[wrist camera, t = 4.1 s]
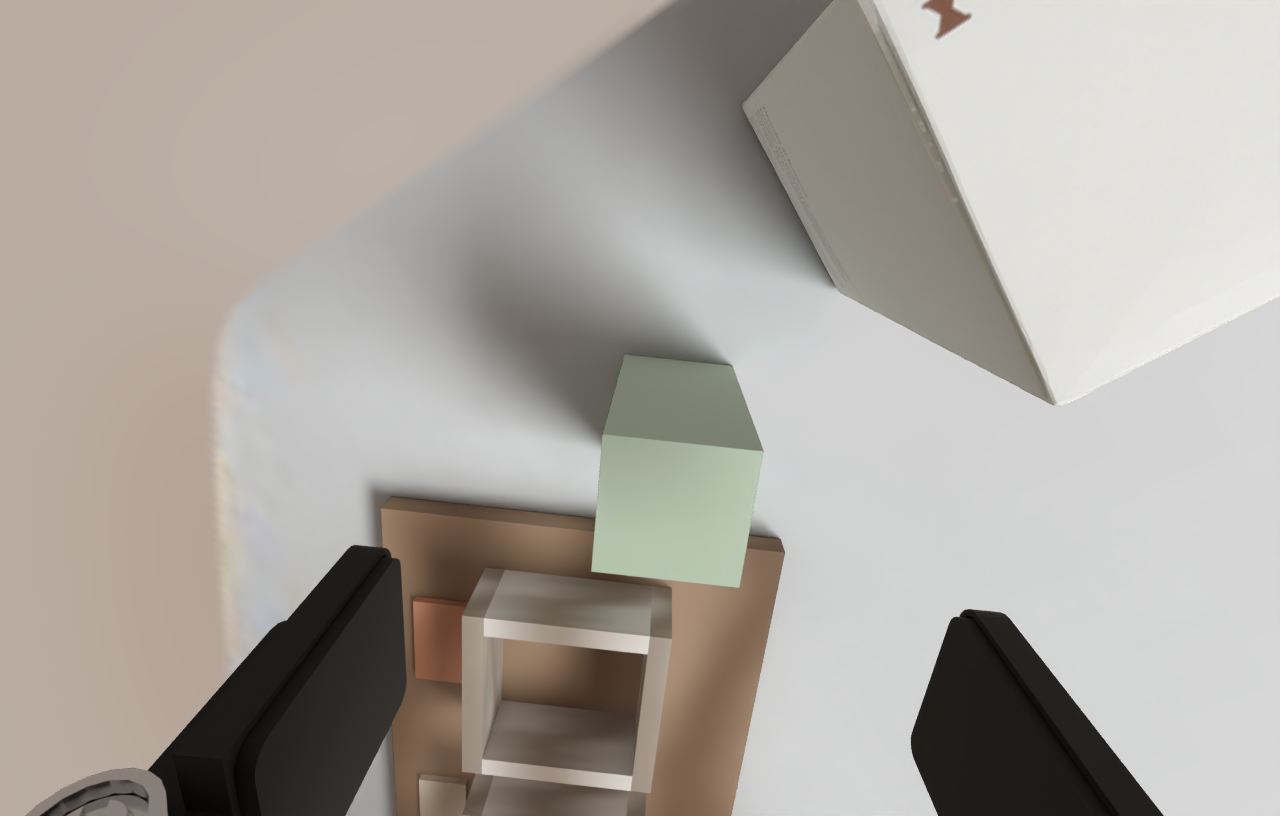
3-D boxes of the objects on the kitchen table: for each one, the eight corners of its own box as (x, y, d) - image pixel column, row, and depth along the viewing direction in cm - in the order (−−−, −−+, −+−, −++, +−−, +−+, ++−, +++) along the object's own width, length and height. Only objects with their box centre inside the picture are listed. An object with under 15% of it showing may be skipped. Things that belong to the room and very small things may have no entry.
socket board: (780, 538, 25) (800, 600, 21) (708, 900, 32) (713, 994, 28) (391, 496, 25) (342, 550, 21) (408, 865, 32) (373, 953, 29)
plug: (732, 365, 23) (763, 451, 15) (717, 463, 24) (739, 588, 16) (624, 354, 23) (602, 434, 15) (615, 453, 24) (591, 571, 16)
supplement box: (837, 299, 22) (1043, 428, 10) (735, 102, 20) (836, -39, 8) (1043, 182, 20) (1590, 163, 8) (954, -44, 18) (1500, -500, 6)
